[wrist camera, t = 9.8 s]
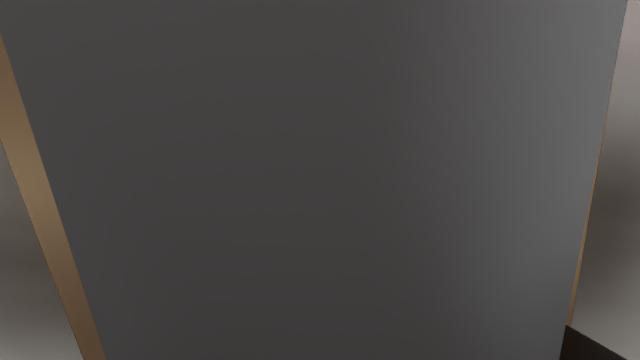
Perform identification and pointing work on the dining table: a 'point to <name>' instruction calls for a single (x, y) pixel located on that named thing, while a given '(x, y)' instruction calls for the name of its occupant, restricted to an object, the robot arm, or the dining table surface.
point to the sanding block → (320, 169)
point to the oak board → (21, 150)
